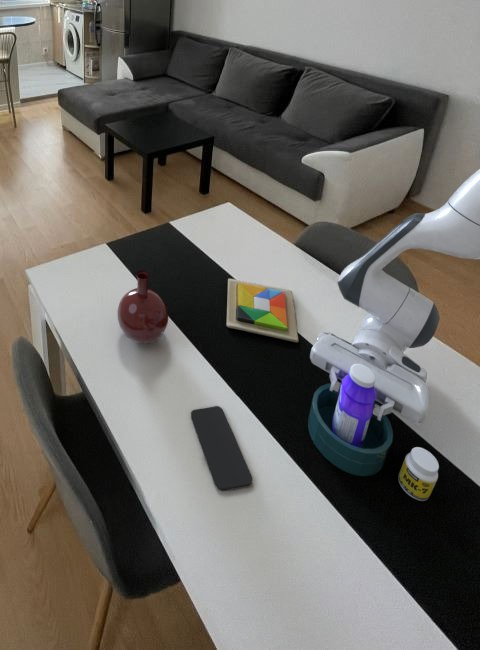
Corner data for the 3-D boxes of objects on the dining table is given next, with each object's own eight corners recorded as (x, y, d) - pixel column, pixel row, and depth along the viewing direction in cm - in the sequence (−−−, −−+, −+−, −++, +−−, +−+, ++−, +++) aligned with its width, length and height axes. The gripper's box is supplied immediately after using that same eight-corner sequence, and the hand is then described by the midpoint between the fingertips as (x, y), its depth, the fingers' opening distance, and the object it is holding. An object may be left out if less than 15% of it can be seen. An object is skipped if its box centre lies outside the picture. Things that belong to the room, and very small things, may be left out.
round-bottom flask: (144, 365, 105) (144, 303, 98) (107, 332, 115) (105, 273, 107) (178, 334, 113) (180, 275, 105) (141, 306, 122) (141, 250, 115)
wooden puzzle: (226, 330, 113) (227, 321, 112) (227, 280, 130) (228, 271, 128) (298, 346, 108) (300, 336, 106) (290, 292, 124) (292, 283, 123)
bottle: (331, 410, 91) (345, 352, 85) (363, 423, 89) (380, 364, 82) (330, 442, 86) (344, 382, 79) (363, 457, 83) (381, 397, 76)
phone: (221, 405, 94) (255, 482, 81) (221, 407, 95) (254, 485, 81) (189, 410, 94) (217, 489, 80) (188, 412, 94) (217, 492, 80)
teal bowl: (397, 446, 86) (405, 423, 83) (364, 493, 79) (372, 470, 76) (328, 393, 96) (334, 371, 94) (294, 430, 90) (299, 408, 87)
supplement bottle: (395, 486, 80) (405, 458, 77) (400, 466, 83) (411, 438, 80) (427, 508, 76) (439, 480, 73) (431, 486, 79) (443, 458, 76)
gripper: (324, 318, 97) (300, 358, 89) (437, 376, 84) (422, 430, 75) (320, 339, 100) (297, 379, 91) (429, 398, 86) (414, 453, 77)
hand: (354, 403), depth 83 cm, fingers closed on bottle, 6 cm apart
